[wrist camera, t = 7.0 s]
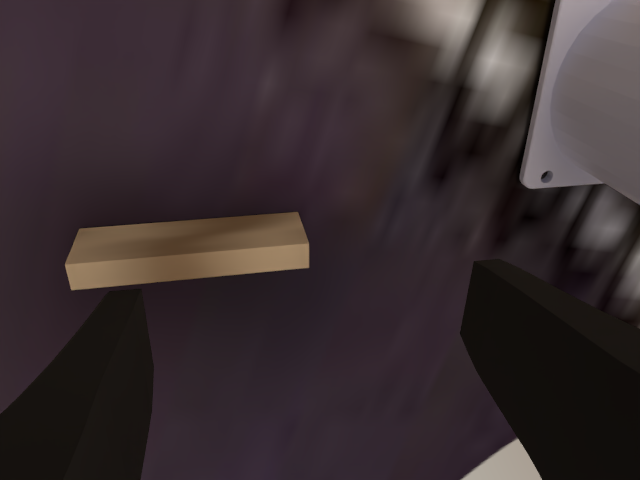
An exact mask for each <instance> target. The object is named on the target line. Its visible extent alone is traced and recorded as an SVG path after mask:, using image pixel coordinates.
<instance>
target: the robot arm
mask: <svg viewBox="0 0 640 480" xmlns="http://www.w3.org/2000/svg"><path fill="white" fill-rule="evenodd" d="M546 171H548V173H547V175H546V177H544V178H543V179H541V176H542V174H543V173H544V172H546ZM520 181H521V183H522V184H523V185H524V186H526V187H527V188H530V189H537V188H550V187H564V186H577V185H590V184H603V183H605V184H607V185H608V186H610V187H611V188H613V189H615V190H616V191H618V192H620V193H621V194H623V195H624V196H626V197H628V198H629V199H631V200H633V201H634V202H636V203H637V204H639V205H640V0H555V5H554V10H553V15H552V20H551V25H550V30H549V35H548V39H547V44H546V49H545V54H544V59H543V64H542V69H541V74H540V78H539V83H538V88H537V93H536V98H535V103H534V108H533V113H532V118H531V122H530V127H529V132H528V137H527V142H526V147H525V152H524V157H523V161H522V166H521V171H520ZM460 334H461V337H462V339H463V342H464V344H465V346H466V349H467V351H468V354H469V356H470V358H471V360H472V362H473V365H474V367H475V369H476V371H477V373H478V374H479V376H480V378H481V379H482V381H483V383H484V384H485V386H486V388H487V389H488V391H489V393H490V394H491V396H492V397H493V399H494V401H495V402H496V404H497V405H498V407H499V409H500V410H501V412H502V413H503V415H504V417H505V418H506V420H507V421H508V423H509V425H510V426H511V428H512V429H513V431H514V432H515V434H516V436H517V437H518V439H519V440H520V442H521V443H522V445H523V447H524V448H525V450H526V451H527V453H528V455H529V456H530V458H531V460H532V462H533V464H534V465H535V467H536V469H537V471H538V472H539V474H540V476H541V478H542V480H640V329H639V328H636V327H634V326H632V325H630V324H628V323H626V322H623V321H621V320H619V319H617V318H615V317H613V316H611V315H609V314H606V313H604V312H602V311H600V310H598V309H596V308H594V307H592V306H590V305H588V304H587V303H585V302H583V301H581V300H579V299H577V298H575V297H573V296H571V295H569V294H567V293H565V292H564V291H562V290H560V289H558V288H556V287H554V286H552V285H550V284H548V283H547V282H545V281H543V280H541V279H539V278H537V277H535V276H533V275H532V274H530V273H528V272H526V271H524V270H522V269H520V268H518V267H516V266H514V265H512V264H509V263H507V262H505V261H502V260H500V259H495V260H483V261H474V264H473V269H472V274H471V279H470V284H469V289H468V295H467V300H466V305H465V310H464V315H463V320H462V326H461V331H460ZM153 372H154V365H153V359H152V353H151V346H150V340H149V334H148V328H147V321H146V315H145V309H144V303H143V297H142V290H141V289H133V290H120V291H110V292H109V293H108V294H107V295H106V296H105V297H104V298H103V299H102V301H101V302H100V303H99V304H98V306H97V307H96V308H95V310H94V311H93V312H92V314H91V315H90V316H89V317H88V319H87V320H86V321H85V322H84V324H83V325H82V326H81V327H80V329H79V330H78V331H77V332H76V334H75V335H74V336H73V337H72V339H71V340H70V341H69V342H68V343H67V344H66V346H65V347H64V348H63V349H62V350H61V351H60V353H59V354H58V355H57V356H56V357H55V359H54V360H53V361H52V362H51V363H50V364H49V365H48V366H47V367H46V369H45V370H44V371H43V372H42V373H41V374H40V375H39V376H38V377H37V378H36V379H35V380H34V381H33V382H32V383H31V384H30V385H29V386H28V388H27V389H26V390H25V391H24V392H23V393H22V394H21V395H20V396H19V397H18V398H17V399H16V400H15V401H14V402H13V403H12V404H11V405H10V406H9V407H8V408H7V409H6V410H4V411H3V412H2V413H1V414H0V480H140V479H141V473H142V467H143V461H144V455H145V450H146V444H147V438H148V432H149V425H150V419H151V413H152V398H153Z"/></svg>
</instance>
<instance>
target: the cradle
mask: <svg viewBox="0 0 640 480" xmlns="http://www.w3.org/2000/svg"><path fill="white" fill-rule="evenodd" d="M65 267H66V271H67V275H68V279H69V283H70V287H71V290H80V289H90V288H101V287H112V286H122V285H133V284H143V283H154V282H164V281H175V280H185V279H196V278H206V277H217V276H227V275H238V274H248V273H259V272H269V271H280V270H290V269H301V268H309V242H308V239H307V236H306V233H305V231H304V228H303V225H302V222H301V219H300V216H299V214H298V212H289V213H276V214H263V215H250V216H237V217H224V218H211V219H198V220H185V221H172V222H159V223H146V224H133V225H120V226H107V227H94V228H81V229H79V231H78V233H77V236H76V238H75V241H74V243H73V246H72V248H71V251H70V253H69V256H68V258H67V260H66V263H65Z"/></svg>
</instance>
